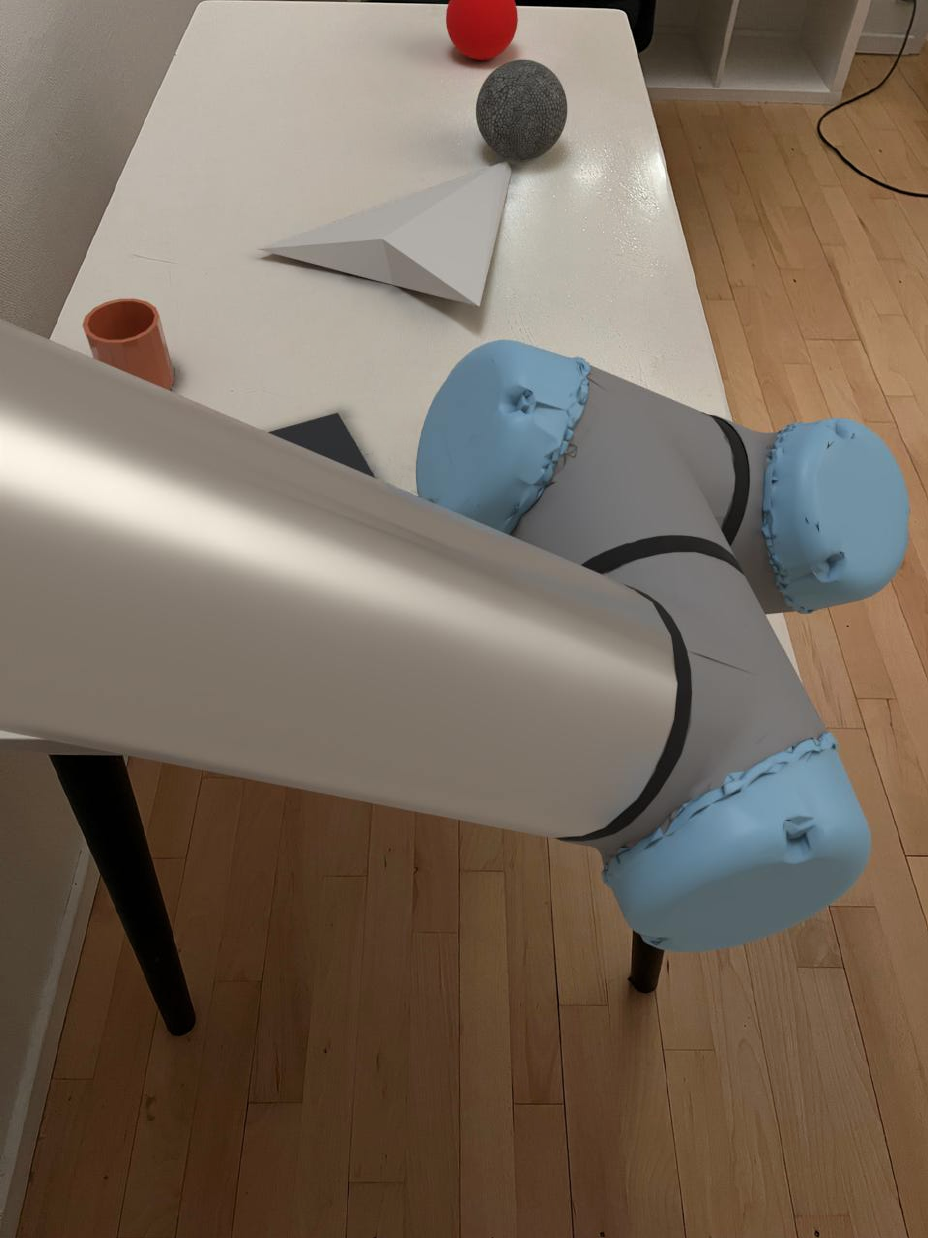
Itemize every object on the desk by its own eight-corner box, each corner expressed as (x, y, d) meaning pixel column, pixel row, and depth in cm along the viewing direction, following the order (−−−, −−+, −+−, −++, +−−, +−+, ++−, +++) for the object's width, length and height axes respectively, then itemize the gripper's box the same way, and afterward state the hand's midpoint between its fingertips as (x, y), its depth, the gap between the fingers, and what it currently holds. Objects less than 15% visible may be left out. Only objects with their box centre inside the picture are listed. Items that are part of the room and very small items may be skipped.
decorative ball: (565, 178, 116) (572, 85, 109) (474, 176, 116) (475, 83, 109) (562, 134, 123) (569, 43, 115) (476, 133, 123) (477, 42, 115)
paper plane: (610, 200, 114) (615, 163, 110) (478, 339, 98) (479, 300, 95) (410, 139, 122) (408, 102, 118) (258, 258, 106) (252, 220, 103)
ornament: (485, 35, 140) (486, -50, 132) (530, 58, 135) (535, -28, 127) (431, 54, 136) (430, -33, 128) (477, 78, 132) (478, -9, 124)
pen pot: (111, 412, 91) (91, 349, 86) (96, 370, 95) (76, 308, 90) (182, 393, 93) (166, 330, 88) (164, 353, 96) (148, 291, 91)
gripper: (502, 765, 49) (307, 755, 68) (762, 497, 61) (534, 551, 79) (415, 636, 47) (238, 662, 66) (700, 384, 59) (481, 466, 77)
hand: (400, 601), depth 72 cm, fingers open, 11 cm apart
